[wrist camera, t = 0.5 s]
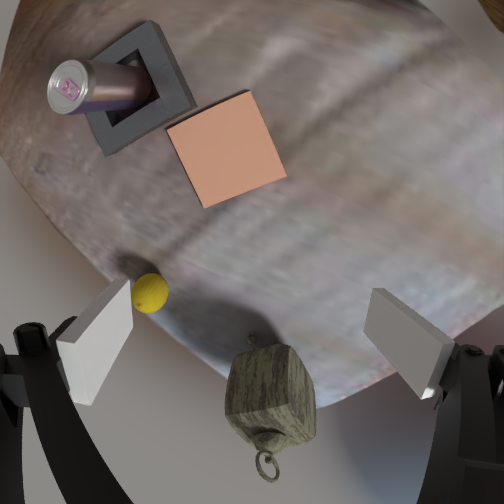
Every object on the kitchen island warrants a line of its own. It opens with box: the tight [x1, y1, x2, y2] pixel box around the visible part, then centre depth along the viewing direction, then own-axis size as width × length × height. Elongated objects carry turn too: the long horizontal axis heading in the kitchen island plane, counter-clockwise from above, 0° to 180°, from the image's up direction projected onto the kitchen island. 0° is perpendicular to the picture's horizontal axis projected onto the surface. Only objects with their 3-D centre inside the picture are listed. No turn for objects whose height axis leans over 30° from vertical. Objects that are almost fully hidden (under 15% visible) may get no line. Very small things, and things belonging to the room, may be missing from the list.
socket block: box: [86, 20, 198, 157], centre depth 33 cm, size 14×14×3 cm
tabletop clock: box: [225, 336, 316, 482], centre depth 41 cm, size 14×9×25 cm, turn 27°
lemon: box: [131, 273, 168, 313], centre depth 44 cm, size 6×6×8 cm
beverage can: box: [47, 59, 151, 115], centre depth 27 cm, size 6×6×15 cm
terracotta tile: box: [167, 91, 287, 208], centre depth 37 cm, size 12×12×1 cm
